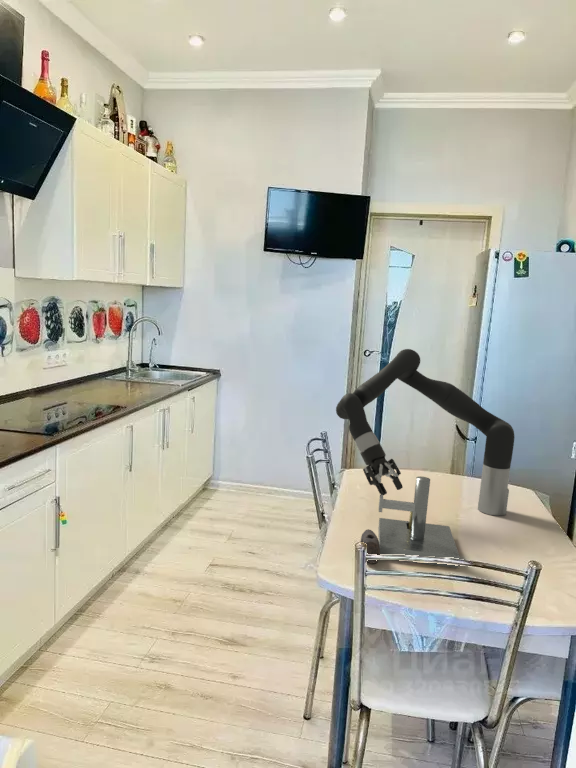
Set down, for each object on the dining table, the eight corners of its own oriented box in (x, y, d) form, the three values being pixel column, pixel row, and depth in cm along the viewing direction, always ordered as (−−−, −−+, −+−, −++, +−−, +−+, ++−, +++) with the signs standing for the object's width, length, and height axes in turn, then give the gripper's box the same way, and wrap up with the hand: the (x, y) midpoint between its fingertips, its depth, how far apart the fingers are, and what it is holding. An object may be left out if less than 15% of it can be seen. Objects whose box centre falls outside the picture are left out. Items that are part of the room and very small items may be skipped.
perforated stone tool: (358, 543, 166) (360, 521, 165) (375, 545, 165) (377, 523, 164) (360, 566, 151) (362, 542, 150) (379, 568, 151) (382, 544, 150)
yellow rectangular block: (419, 535, 174) (422, 505, 173) (420, 540, 171) (423, 509, 169) (407, 534, 175) (410, 504, 173) (408, 538, 171) (411, 508, 170)
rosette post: (447, 536, 175) (455, 470, 172) (458, 568, 153) (467, 492, 150) (375, 527, 178) (381, 462, 175) (375, 557, 157) (382, 483, 154)
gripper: (375, 449, 193) (397, 491, 188) (349, 456, 184) (371, 501, 178) (390, 439, 188) (413, 482, 183) (363, 446, 179) (386, 492, 173)
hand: (392, 491), depth 180 cm, fingers open, 8 cm apart
